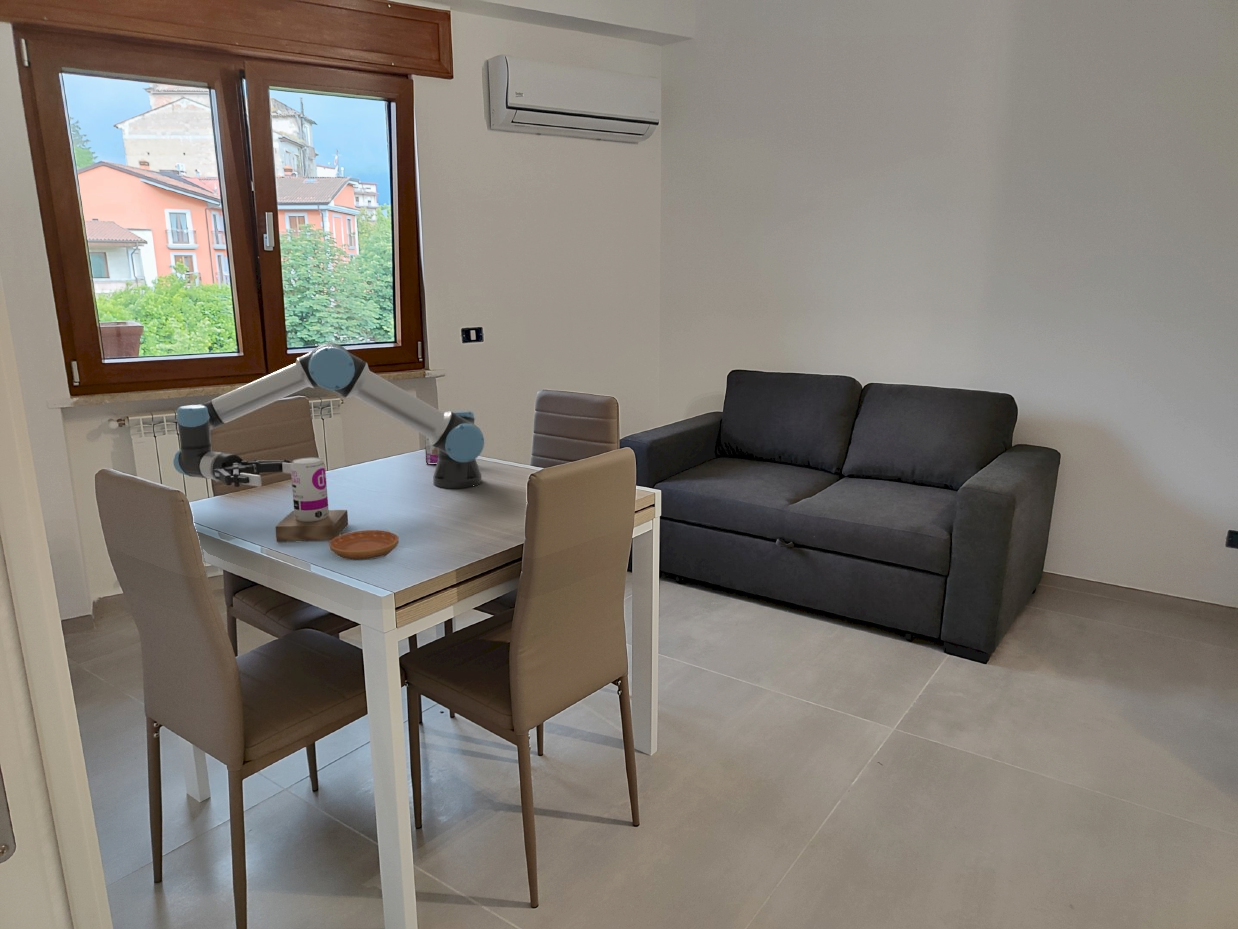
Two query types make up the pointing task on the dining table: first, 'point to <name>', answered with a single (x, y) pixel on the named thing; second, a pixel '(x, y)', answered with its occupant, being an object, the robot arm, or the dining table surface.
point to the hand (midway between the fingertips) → (281, 475)
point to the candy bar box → (430, 452)
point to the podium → (312, 527)
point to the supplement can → (309, 489)
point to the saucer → (364, 544)
